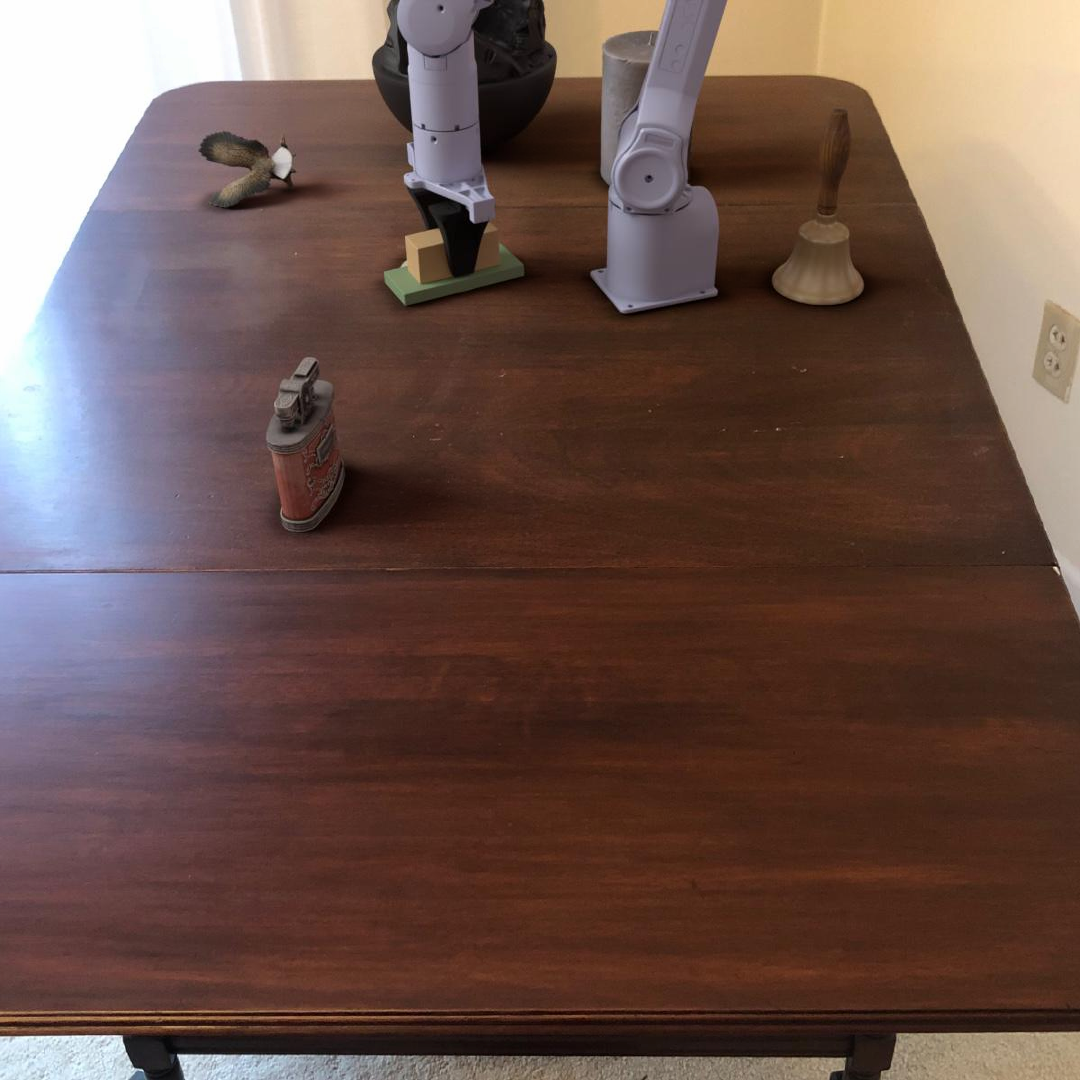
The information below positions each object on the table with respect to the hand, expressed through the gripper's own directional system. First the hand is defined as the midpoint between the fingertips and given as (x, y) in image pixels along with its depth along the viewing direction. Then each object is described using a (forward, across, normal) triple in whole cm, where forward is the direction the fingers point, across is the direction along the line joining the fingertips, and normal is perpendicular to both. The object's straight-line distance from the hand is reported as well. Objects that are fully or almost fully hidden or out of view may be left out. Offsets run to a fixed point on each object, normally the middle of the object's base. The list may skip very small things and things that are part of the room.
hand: (454, 265), depth 113 cm
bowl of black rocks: (+2, -28, +14) cm, 32 cm away
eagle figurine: (+2, -28, -11) cm, 30 cm away
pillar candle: (+2, -12, +28) cm, 30 cm away
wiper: (+1, 0, 0) cm, 1 cm away
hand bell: (+2, +17, +29) cm, 33 cm away
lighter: (+2, +25, -23) cm, 34 cm away
